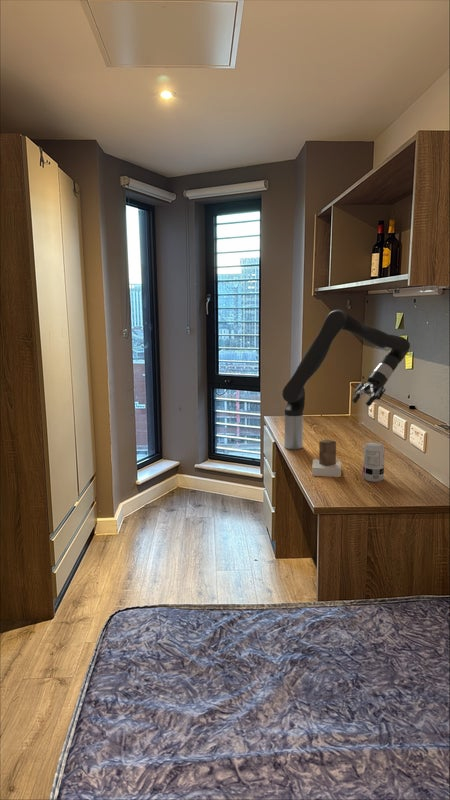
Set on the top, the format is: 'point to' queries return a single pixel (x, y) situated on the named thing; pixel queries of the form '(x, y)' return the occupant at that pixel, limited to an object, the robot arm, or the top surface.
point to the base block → (326, 469)
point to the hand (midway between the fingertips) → (360, 403)
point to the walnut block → (327, 452)
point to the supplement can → (373, 461)
